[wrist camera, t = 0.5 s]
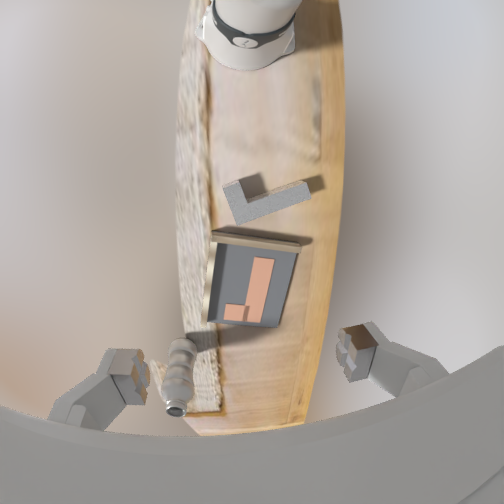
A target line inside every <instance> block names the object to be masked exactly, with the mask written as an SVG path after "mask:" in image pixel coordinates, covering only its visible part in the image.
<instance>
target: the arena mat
mask: <svg viewBox="0 0 504 504" xmlns="http://www.w3.org/2000/svg"><path fill="white" fill-rule="evenodd" d="M212 232H217V233H224V234H232V235H239V236H247V237H254V238H261V239H268V240H275V241H282V242H289V243H296V244H299V243H297V242H290V241H283V240H276V239H269V238H262V237H255V236H248V235H241V234H233V233H226V232H218V231H212ZM210 242H211V241H210ZM209 249H210V248H209ZM295 258H296V253H293V252H286V251H278V250H271V249H263V248H256V247H248V246H240V245H233V244H225V243H217V248H216V255H215V263H214V270H213V277H212V285H211V292H210V300H209V308H208V317H207V322H213V323H223V324H233V325H245V326H258V327H274V328H277V326H278V323H279V319H280V315H281V312H282V308H283V304H284V301H285V297H286V293H287V289H288V285H289V281H290V278H291V274H292V270H293V266H294V262H295ZM207 264H208V263H207ZM206 272H207V271H206ZM205 280H206V279H205ZM203 297H204V296H203ZM201 315H202V314H201Z"/></svg>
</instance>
